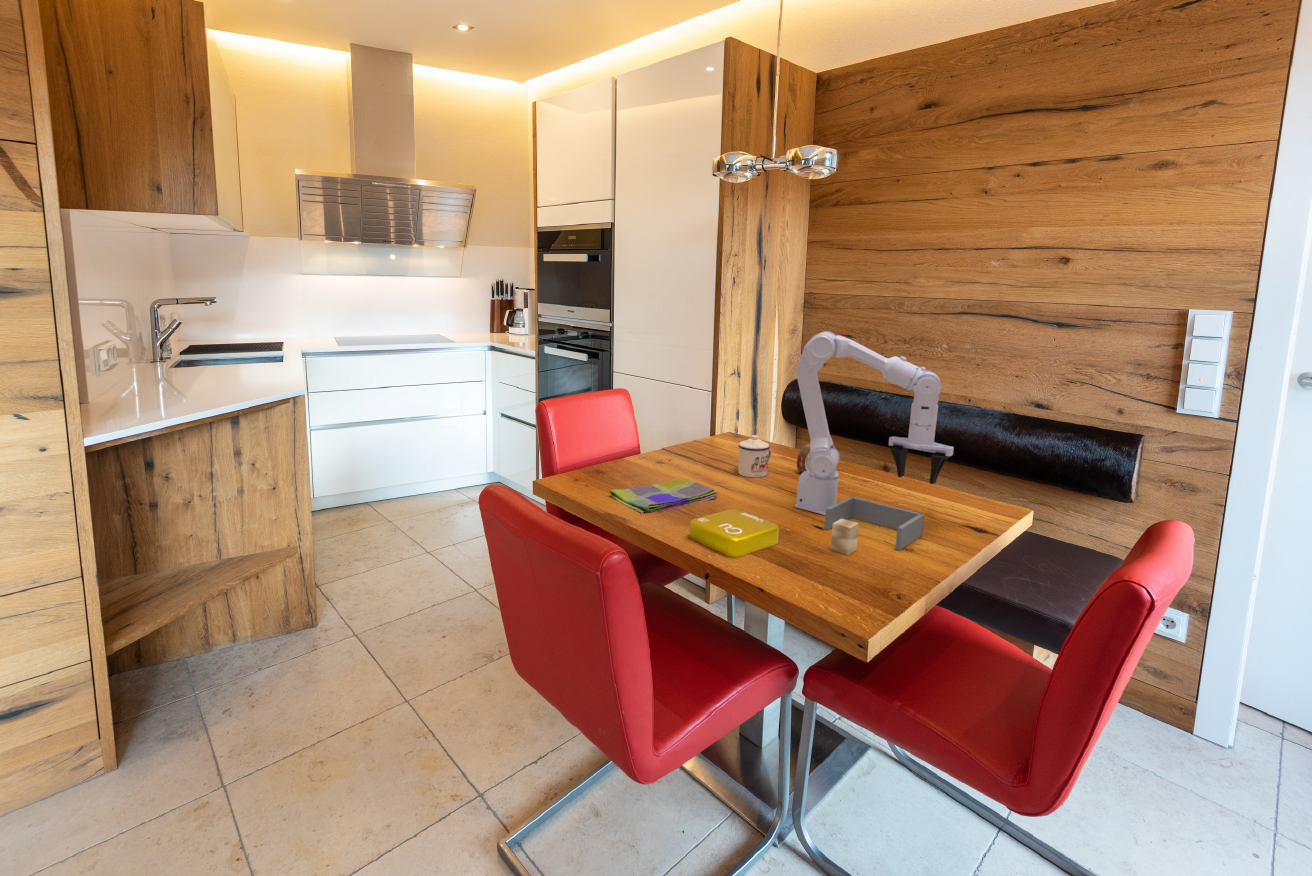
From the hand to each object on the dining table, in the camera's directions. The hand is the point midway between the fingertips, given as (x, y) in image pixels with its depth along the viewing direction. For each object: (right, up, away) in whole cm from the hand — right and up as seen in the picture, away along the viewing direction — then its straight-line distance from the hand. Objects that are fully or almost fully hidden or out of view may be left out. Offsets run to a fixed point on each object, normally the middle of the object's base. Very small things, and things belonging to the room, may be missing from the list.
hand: (916, 479), depth 159 cm
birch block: (-22, -14, -15) cm, 30 cm away
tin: (-15, 0, +45) cm, 47 cm away
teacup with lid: (-32, -1, +40) cm, 52 cm away
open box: (-12, -12, -5) cm, 18 cm away
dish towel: (-60, -6, +17) cm, 63 cm away
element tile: (-45, -13, -11) cm, 48 cm away
